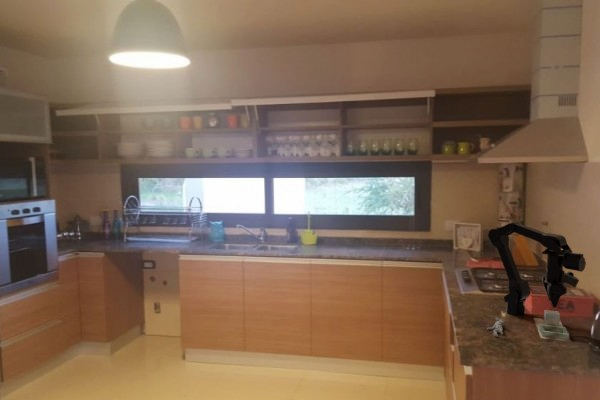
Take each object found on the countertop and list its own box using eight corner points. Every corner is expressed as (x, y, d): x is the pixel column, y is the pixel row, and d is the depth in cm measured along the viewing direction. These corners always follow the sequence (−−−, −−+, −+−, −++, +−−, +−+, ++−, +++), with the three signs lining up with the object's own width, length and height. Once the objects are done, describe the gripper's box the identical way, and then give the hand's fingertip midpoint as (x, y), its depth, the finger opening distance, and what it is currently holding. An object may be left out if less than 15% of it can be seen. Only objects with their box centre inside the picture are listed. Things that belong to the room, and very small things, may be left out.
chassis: (540, 340, 172) (541, 332, 172) (533, 320, 193) (533, 313, 193) (571, 344, 169) (571, 336, 168) (560, 323, 190) (560, 316, 190)
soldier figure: (486, 338, 177) (483, 318, 188) (495, 345, 177) (492, 326, 188) (503, 327, 173) (499, 308, 184) (512, 335, 174) (507, 316, 184)
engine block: (545, 324, 185) (545, 312, 185) (543, 321, 189) (544, 309, 188) (559, 326, 183) (559, 314, 183) (557, 323, 187) (558, 311, 187)
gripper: (583, 273, 172) (580, 313, 174) (572, 262, 190) (570, 299, 191) (549, 271, 176) (547, 310, 178) (542, 260, 194) (540, 296, 195)
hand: (552, 303), depth 185 cm, fingers open, 9 cm apart
